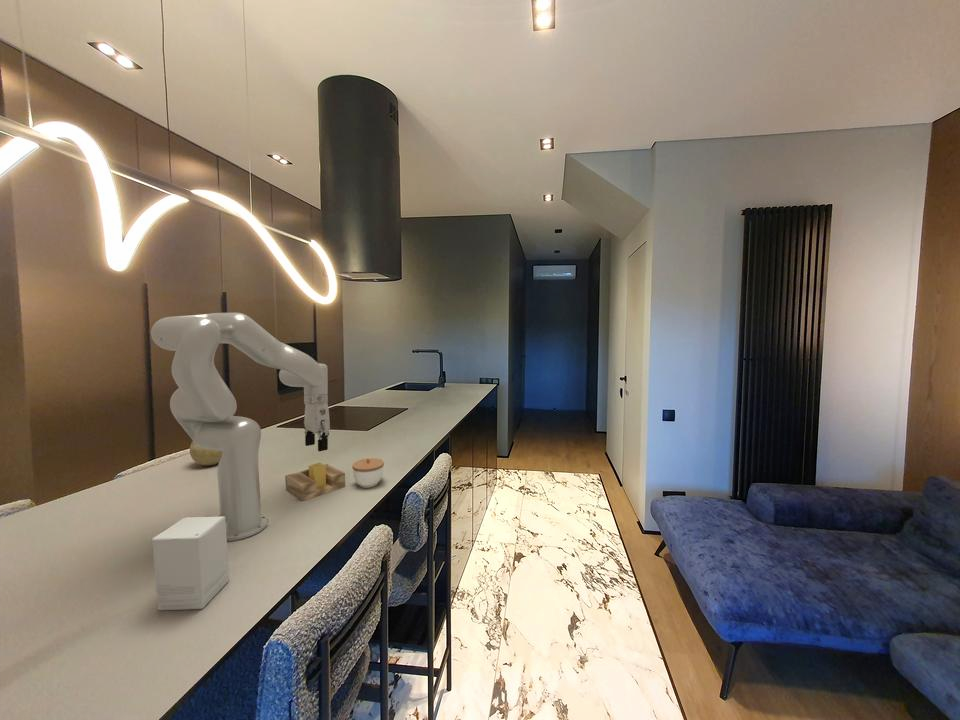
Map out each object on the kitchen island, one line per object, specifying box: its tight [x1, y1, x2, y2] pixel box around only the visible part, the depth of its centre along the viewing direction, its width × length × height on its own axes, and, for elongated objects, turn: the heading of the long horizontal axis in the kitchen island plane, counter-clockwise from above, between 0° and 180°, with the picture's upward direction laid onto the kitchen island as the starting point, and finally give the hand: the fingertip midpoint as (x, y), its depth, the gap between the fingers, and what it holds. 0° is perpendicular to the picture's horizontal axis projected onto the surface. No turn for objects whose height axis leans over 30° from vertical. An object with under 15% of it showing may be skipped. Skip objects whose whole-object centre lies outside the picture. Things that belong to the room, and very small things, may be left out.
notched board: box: [284, 463, 346, 502], centre depth 131 cm, size 15×13×5 cm
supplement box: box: [151, 516, 230, 611], centre depth 78 cm, size 9×9×15 cm
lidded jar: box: [351, 457, 385, 489], centre depth 134 cm, size 11×11×9 cm
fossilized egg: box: [189, 440, 223, 467], centre depth 153 cm, size 13×13×15 cm
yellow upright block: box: [308, 462, 326, 488], centre depth 130 cm, size 4×4×7 cm
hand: (316, 447), depth 131 cm, fingers open, 9 cm apart
